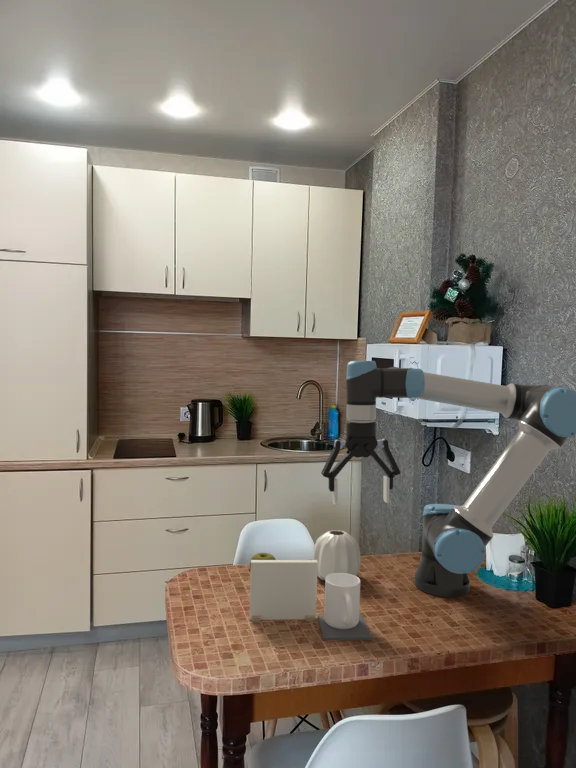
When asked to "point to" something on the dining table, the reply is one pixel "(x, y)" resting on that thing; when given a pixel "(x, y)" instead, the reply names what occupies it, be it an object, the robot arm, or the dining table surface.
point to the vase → (336, 554)
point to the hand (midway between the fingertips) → (360, 502)
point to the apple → (262, 557)
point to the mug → (342, 600)
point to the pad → (345, 631)
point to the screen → (283, 590)
